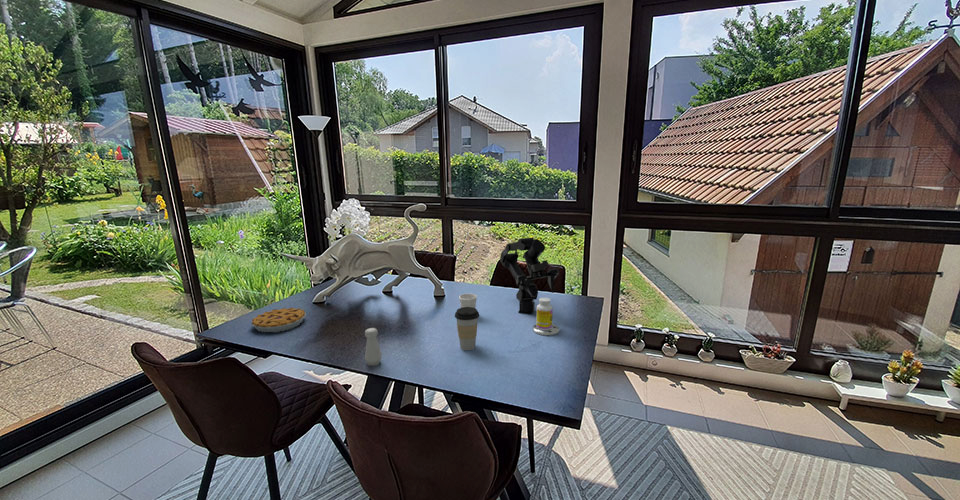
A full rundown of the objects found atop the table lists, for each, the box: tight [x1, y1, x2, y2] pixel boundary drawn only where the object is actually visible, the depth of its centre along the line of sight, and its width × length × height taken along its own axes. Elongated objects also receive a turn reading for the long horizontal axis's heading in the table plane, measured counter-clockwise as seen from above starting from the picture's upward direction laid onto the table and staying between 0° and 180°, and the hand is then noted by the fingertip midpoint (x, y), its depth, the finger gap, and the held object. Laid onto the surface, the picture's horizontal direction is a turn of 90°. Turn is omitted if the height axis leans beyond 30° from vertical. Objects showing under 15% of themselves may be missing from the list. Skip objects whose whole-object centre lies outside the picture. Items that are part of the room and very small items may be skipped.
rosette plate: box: [532, 323, 560, 337], centre depth 164 cm, size 11×11×1 cm
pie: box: [250, 307, 307, 333], centre depth 176 cm, size 22×22×5 cm
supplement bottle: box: [535, 297, 554, 331], centre depth 163 cm, size 7×7×13 cm
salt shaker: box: [364, 327, 382, 367], centre depth 138 cm, size 6×6×13 cm
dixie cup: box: [458, 293, 478, 308], centre depth 180 cm, size 8×8×10 cm
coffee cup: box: [454, 307, 480, 351], centre depth 149 cm, size 9×9×15 cm
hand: (542, 294), depth 169 cm, fingers open, 9 cm apart
